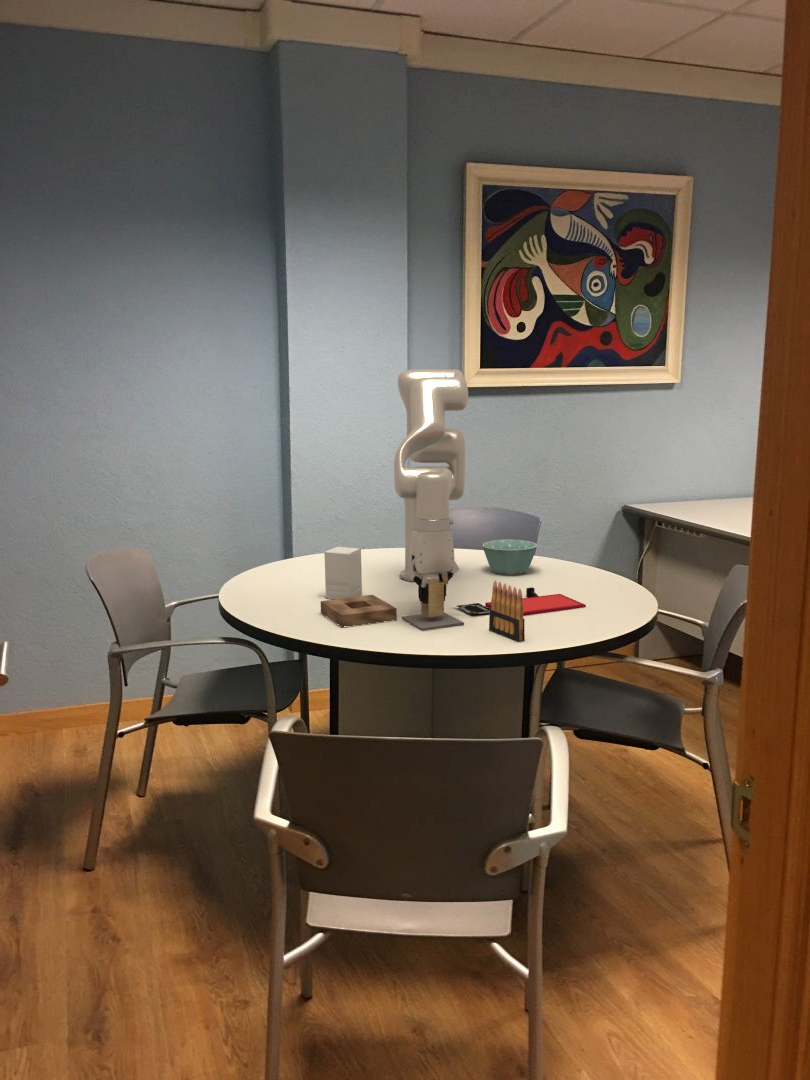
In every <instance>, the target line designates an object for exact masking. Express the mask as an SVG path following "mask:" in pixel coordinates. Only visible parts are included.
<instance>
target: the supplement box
mask: <svg viewBox="0 0 810 1080" xmlns="http://www.w3.org/2000/svg"><path fill="white" fill-rule="evenodd" d="M323 555H324V581H325V582H324V583H325V586H324V587H325V599H327V598H328V599H327V600H334V599H342V598H350V597H358V596H363V585H362V584H363V582H362V581H363V580H362V576H363V575H362V549H361V548H356V547H345V546H336V547H333V548H330V549H329V550H326V551H324V554H323Z"/></svg>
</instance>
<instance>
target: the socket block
mask: <svg viewBox="0 0 810 1080" xmlns="http://www.w3.org/2000/svg"><path fill="white" fill-rule="evenodd" d="M397 611H398V610H397V607H396V606H394V605H392V604H390V603H388V602H386V601H385V600H383V599H381V598H379V597H378V596H376V595H374V594H369V595H368V594H367V595H361V596H358V597H350V598H342V599H327V600H326V599H325V600H320V614H321V615H323V616H324V615H325V616H324V617H326V616H327V617H328V619H329V618H330V619H331V620H330V619H329V620H330V621H332V620H333V621H334V622H333V621H332V622H333V623H335V622H336V623H337V624H339V625H340V626H342V627H344V626H351V627H354V626H353V625H359V626H363V625H362V624H366V625H369V624H368V623H373V624H377V623H376V622H380V623H385V622H384V621H388V622H393V621H392V620H395V621H397V619H398V617H397V615H398V614H397V613H398V612H397ZM327 617H326V618H327ZM336 623H335V624H336ZM337 624H336V625H337ZM339 625H338V626H339ZM340 626H339V627H340ZM342 627H341V628H342ZM344 628H345V627H344Z"/></svg>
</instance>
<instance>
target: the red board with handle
mask: <svg viewBox="0 0 810 1080" xmlns="http://www.w3.org/2000/svg"><path fill="white" fill-rule="evenodd" d="M535 590H536V589H535V587H532V586H531V587H526V591H525V593H526V595H525V597H522V601H523V617H527V616H534V615H541V614H548V613H556V612H561V611H568V610H576V609H582V608H583V609H584V608H586V606H587V605H586V604H585V603H582V602H580V601H578V600H577V599H576V600H575V599H573V598H571V597H569V596H567V595H564V594H561V593H556V594H555V593H554V594H547V595H538V594H537V593H536V591H535ZM456 607H457V608H459V609H461V610H463V611H465V612H466V613H468V614H470V615H480V614H481V615H482V614H490V609H491V601H489V602H488V601H487V602H485V605H483V604H482V603H479V602H473V603H467V604H458V605H456Z"/></svg>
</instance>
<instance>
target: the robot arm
mask: <svg viewBox="0 0 810 1080" xmlns="http://www.w3.org/2000/svg"><path fill="white" fill-rule="evenodd" d="M397 387H398V392H399V395H400V398H401V399H402V402H403V404H404V407H405V410H406V411H405V412H406V436H405V437H404V439H402V441H401V443H400V444H399V446H398V447H397V450H396V451H395V452H396V453H395V455H394V461H393V463H394V464H393V465H394V466H393V468H394V469H393V472H394V473H393V474H394V477H393V478H394V479H393V480H394V481H393V482H394V490H395V493H396V494H397V496H398V497H399V498H402V499H403V502H404V503H403V505H404V522H405V523H404V525H405V526H404V539H405V540H404V553H405V554H404V559H405V560H404V561H405V562H404V566H405V567H404V569H405V570H401V571H400V572H399V578H400V579H401V580H404V581H409V582H414V583H415V584H416V585H417V586H418V589H417V590H418V594H417V595H418V599H419V602H420V603H421V602H422V603H424V604H427V603H428V587H426V582H427V580H429V579H438V580H440V581H442V582H444V602H446V597H447V585H449V581H450V580H451V579H452V578H453V576H454V575H455V574H457V573H458V572H459V571H460V567H459V566H458V564H457V562H456V561H455V546H454V538H453V535H452V531H451V529H449V528H450V526H451V525H453V524H454V518H450V516H449V515H450V514H449V513H450V512H449V511H450V509H449V508H450V501H457V500H460V499H461V498H462V497H463V496H464V492H465V485H466V484H465V482H466V480H465V479H466V478H465V477H466V475H465V474H466V441H465V437H464V434H463V432H462V431H461V430H460V429H458V428H455V427H454V428H453V427H446V416H445V415H446V414H445V412H446V411H447V412H448V411H449V412H450V411H451V412H452V411H453V412H454V411H455V412H456V411H459V412H460V411H463V410H465V409H466V407H467V406H468V400H469V388H468V384H467V380H466V378H465V376H464V374H463V372H462V371H461V370H460V369H450V368H448V369H441V368H440V369H431V368H429V369H428V368H427V369H426V368H424V369H423V368H422V369H421V368H420V369H418V368H417V369H415V368H414V369H407V370H404V371H401V372H400V373H399V375H398V377H397ZM408 458H409V460H410V461H412V462H414V463H421V464H423V463H425V464H426V463H427V464H441V463H442V464H444V463H445V464H447V465H448V466H442V465H441V466H436V465H435V466H433V465H432V466H431V465H430V466H429V465H427V466H426V465H424V466H421V465H420V466H419V465H418V466H411V467H410V466H409V467H407V466H406V463H407V462H406V461H407V460H408Z"/></svg>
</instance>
